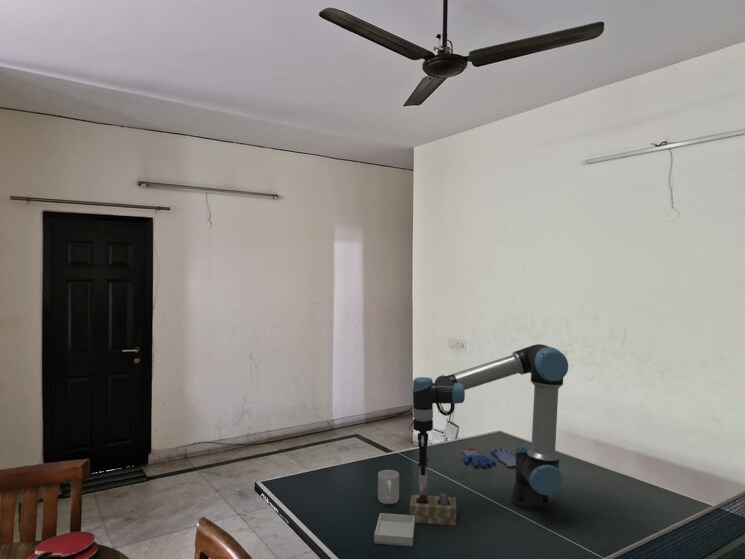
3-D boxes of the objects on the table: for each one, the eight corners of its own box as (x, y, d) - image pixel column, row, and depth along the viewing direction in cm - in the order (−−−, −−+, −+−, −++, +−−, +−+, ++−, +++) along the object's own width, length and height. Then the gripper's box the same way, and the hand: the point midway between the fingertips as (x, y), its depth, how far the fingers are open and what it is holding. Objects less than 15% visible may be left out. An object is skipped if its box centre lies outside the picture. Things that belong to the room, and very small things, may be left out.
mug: (378, 508, 194) (378, 481, 194) (377, 495, 206) (377, 469, 206) (400, 508, 194) (400, 481, 194) (397, 495, 206) (398, 469, 206)
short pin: (448, 516, 187) (448, 492, 188) (448, 520, 184) (448, 496, 184) (439, 515, 188) (439, 492, 188) (439, 520, 185) (439, 495, 185)
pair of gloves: (514, 451, 263) (514, 445, 263) (533, 469, 237) (533, 462, 237) (455, 453, 260) (455, 446, 261) (468, 471, 235) (468, 463, 235)
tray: (414, 523, 181) (415, 515, 182) (412, 546, 166) (412, 537, 166) (379, 521, 183) (379, 513, 183) (374, 543, 167) (374, 534, 167)
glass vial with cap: (428, 499, 189) (427, 458, 189) (427, 503, 185) (427, 461, 185) (419, 498, 189) (418, 458, 189) (418, 502, 186) (418, 461, 186)
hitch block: (455, 513, 190) (455, 497, 190) (456, 525, 180) (456, 508, 180) (411, 510, 193) (411, 494, 193) (409, 522, 183) (409, 505, 183)
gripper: (414, 413, 196) (414, 472, 196) (411, 424, 180) (412, 489, 180) (433, 413, 195) (433, 473, 195) (432, 425, 179) (432, 490, 179)
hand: (423, 480), depth 187 cm, fingers closed on glass vial with cap, 3 cm apart
